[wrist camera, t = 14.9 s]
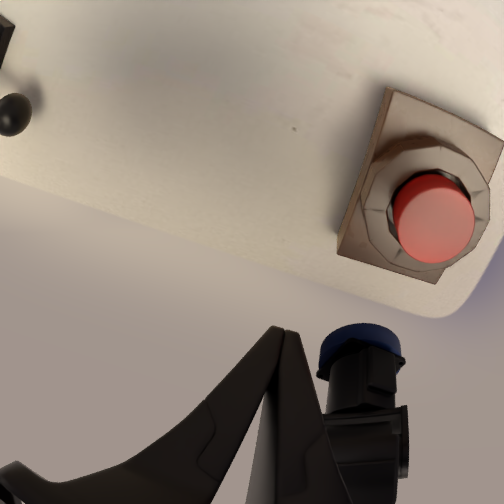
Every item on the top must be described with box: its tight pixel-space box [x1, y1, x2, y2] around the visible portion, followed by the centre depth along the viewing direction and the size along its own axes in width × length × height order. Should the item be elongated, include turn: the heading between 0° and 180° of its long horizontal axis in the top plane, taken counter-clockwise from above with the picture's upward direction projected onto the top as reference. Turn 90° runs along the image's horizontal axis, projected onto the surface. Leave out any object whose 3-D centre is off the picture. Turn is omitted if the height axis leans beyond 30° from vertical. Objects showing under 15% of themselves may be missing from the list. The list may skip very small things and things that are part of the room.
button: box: [392, 174, 475, 263], centre depth 14 cm, size 4×4×2 cm
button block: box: [337, 87, 504, 285], centre depth 16 cm, size 10×7×4 cm
